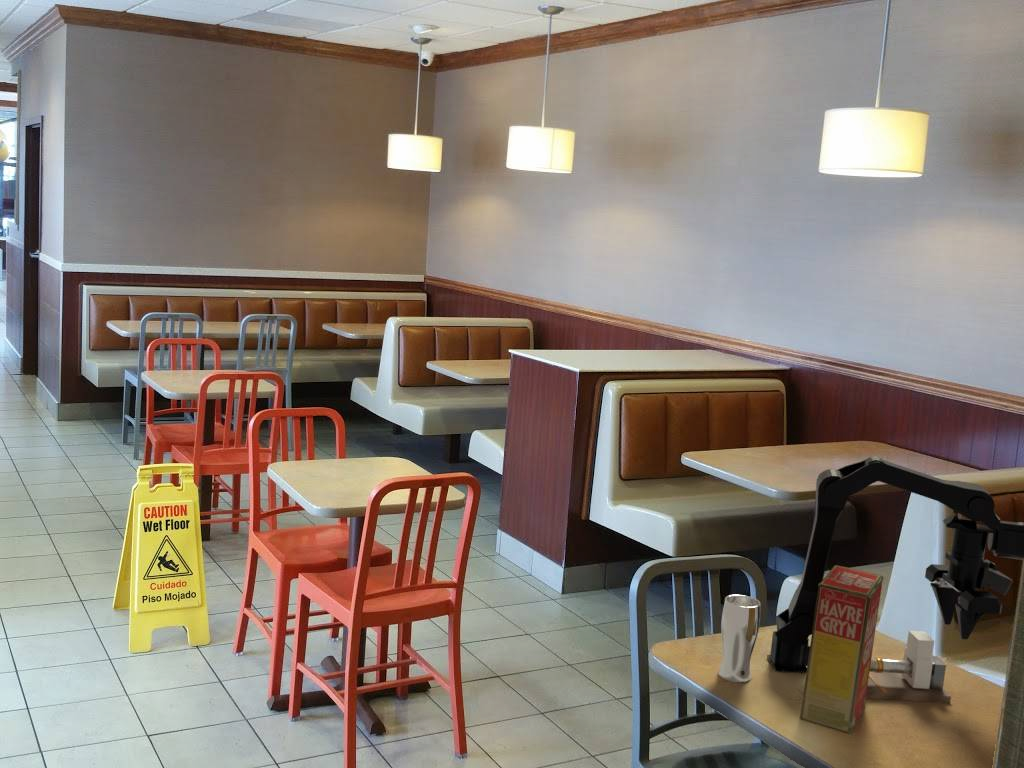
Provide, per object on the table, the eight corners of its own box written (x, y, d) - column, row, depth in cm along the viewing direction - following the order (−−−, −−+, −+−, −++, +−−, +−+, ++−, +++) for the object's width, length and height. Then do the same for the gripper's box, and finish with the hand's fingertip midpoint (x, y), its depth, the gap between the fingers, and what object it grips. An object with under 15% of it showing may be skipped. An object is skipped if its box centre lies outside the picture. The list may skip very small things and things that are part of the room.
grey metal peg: (853, 685, 192) (856, 660, 191) (846, 675, 196) (849, 651, 195) (942, 690, 193) (946, 665, 192) (933, 680, 197) (936, 656, 196)
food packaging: (852, 735, 175) (871, 595, 171) (797, 719, 180) (814, 582, 176) (867, 705, 187) (885, 574, 183) (815, 691, 191) (831, 563, 187)
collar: (913, 687, 192) (919, 641, 190) (901, 674, 197) (907, 629, 196) (929, 688, 192) (935, 642, 190) (916, 675, 197) (922, 630, 196)
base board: (854, 697, 190) (855, 690, 190) (838, 675, 199) (839, 669, 199) (950, 702, 191) (951, 695, 190) (929, 680, 200) (930, 674, 199)
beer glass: (750, 669, 199) (759, 596, 196) (755, 685, 192) (764, 609, 189) (714, 666, 199) (722, 592, 197) (717, 681, 192) (726, 605, 190)
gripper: (1036, 571, 182) (1023, 654, 185) (985, 539, 201) (973, 614, 203) (975, 568, 182) (962, 651, 184) (929, 535, 200) (918, 611, 202)
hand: (955, 631), depth 193 cm, fingers open, 7 cm apart
